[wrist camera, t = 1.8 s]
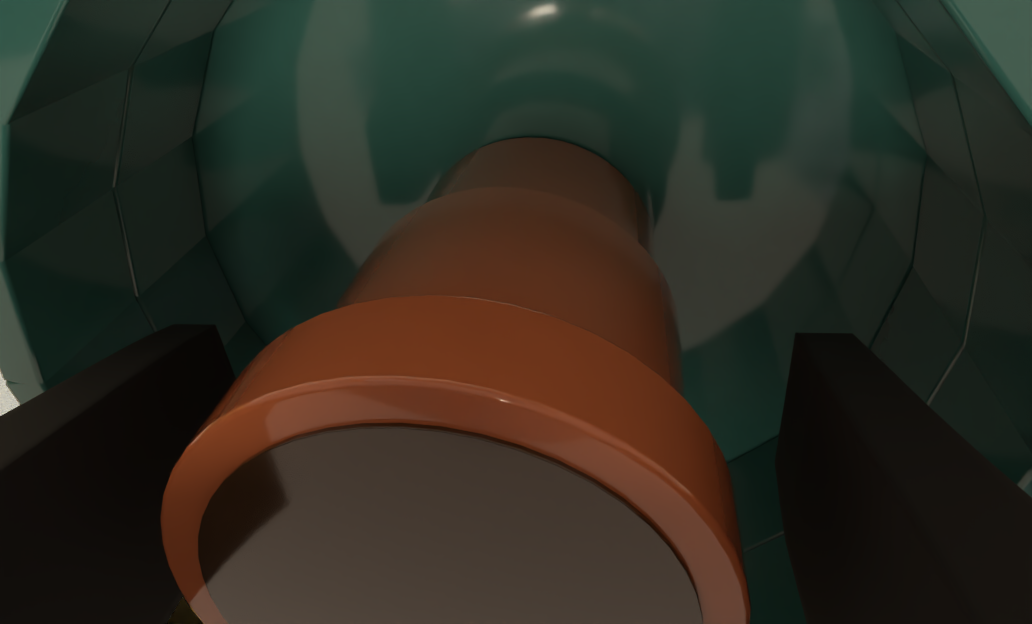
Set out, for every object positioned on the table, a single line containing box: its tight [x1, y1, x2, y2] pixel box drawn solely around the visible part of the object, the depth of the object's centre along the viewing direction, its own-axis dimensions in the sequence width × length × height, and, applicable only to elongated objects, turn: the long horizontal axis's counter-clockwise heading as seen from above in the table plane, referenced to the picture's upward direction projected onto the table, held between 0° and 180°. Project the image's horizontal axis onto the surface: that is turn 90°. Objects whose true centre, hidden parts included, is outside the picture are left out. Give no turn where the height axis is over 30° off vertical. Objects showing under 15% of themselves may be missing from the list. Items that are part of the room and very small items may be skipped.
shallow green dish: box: [0, 0, 1032, 624], centre depth 11 cm, size 13×13×5 cm
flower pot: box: [160, 137, 751, 624], centre depth 9 cm, size 5×5×7 cm
